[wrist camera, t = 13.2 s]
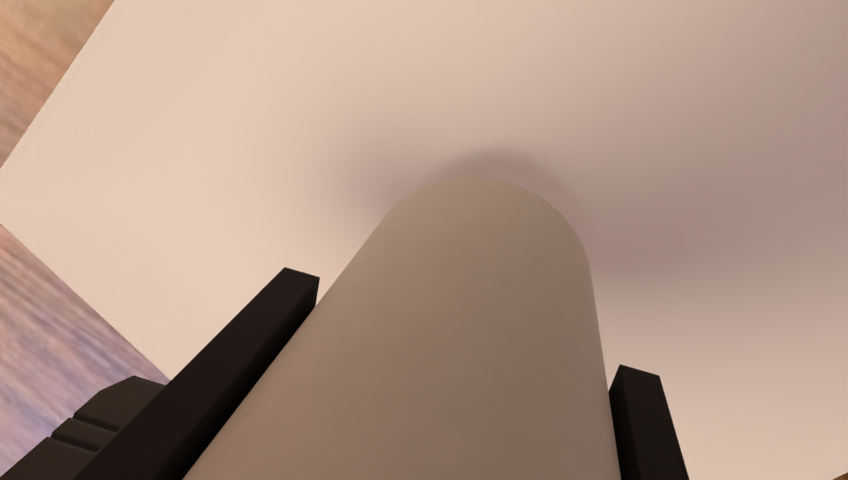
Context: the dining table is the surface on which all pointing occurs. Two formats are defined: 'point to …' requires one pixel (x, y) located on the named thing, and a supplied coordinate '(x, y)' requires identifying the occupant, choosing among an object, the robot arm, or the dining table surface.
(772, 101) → the beige square board
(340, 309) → the bottle
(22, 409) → the dining table surface
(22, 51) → the dining table surface
